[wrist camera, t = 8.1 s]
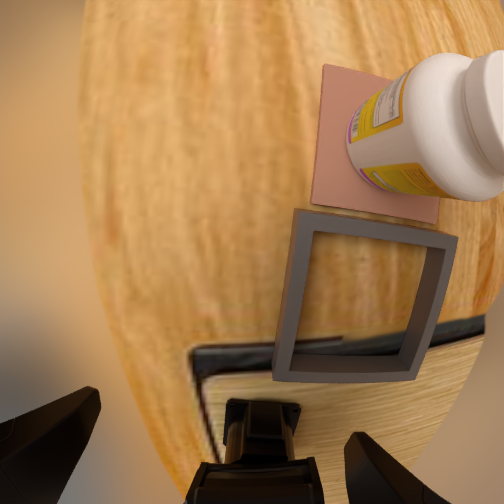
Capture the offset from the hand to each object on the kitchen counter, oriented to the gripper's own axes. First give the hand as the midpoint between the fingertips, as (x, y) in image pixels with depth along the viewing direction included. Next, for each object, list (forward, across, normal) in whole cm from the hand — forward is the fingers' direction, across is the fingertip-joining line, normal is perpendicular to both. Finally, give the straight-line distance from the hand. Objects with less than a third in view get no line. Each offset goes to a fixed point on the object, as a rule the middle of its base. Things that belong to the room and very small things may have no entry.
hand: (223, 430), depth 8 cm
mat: (+13, -8, -12) cm, 20 cm away
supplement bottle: (+12, -8, -12) cm, 19 cm away
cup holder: (+13, -9, -1) cm, 16 cm away
